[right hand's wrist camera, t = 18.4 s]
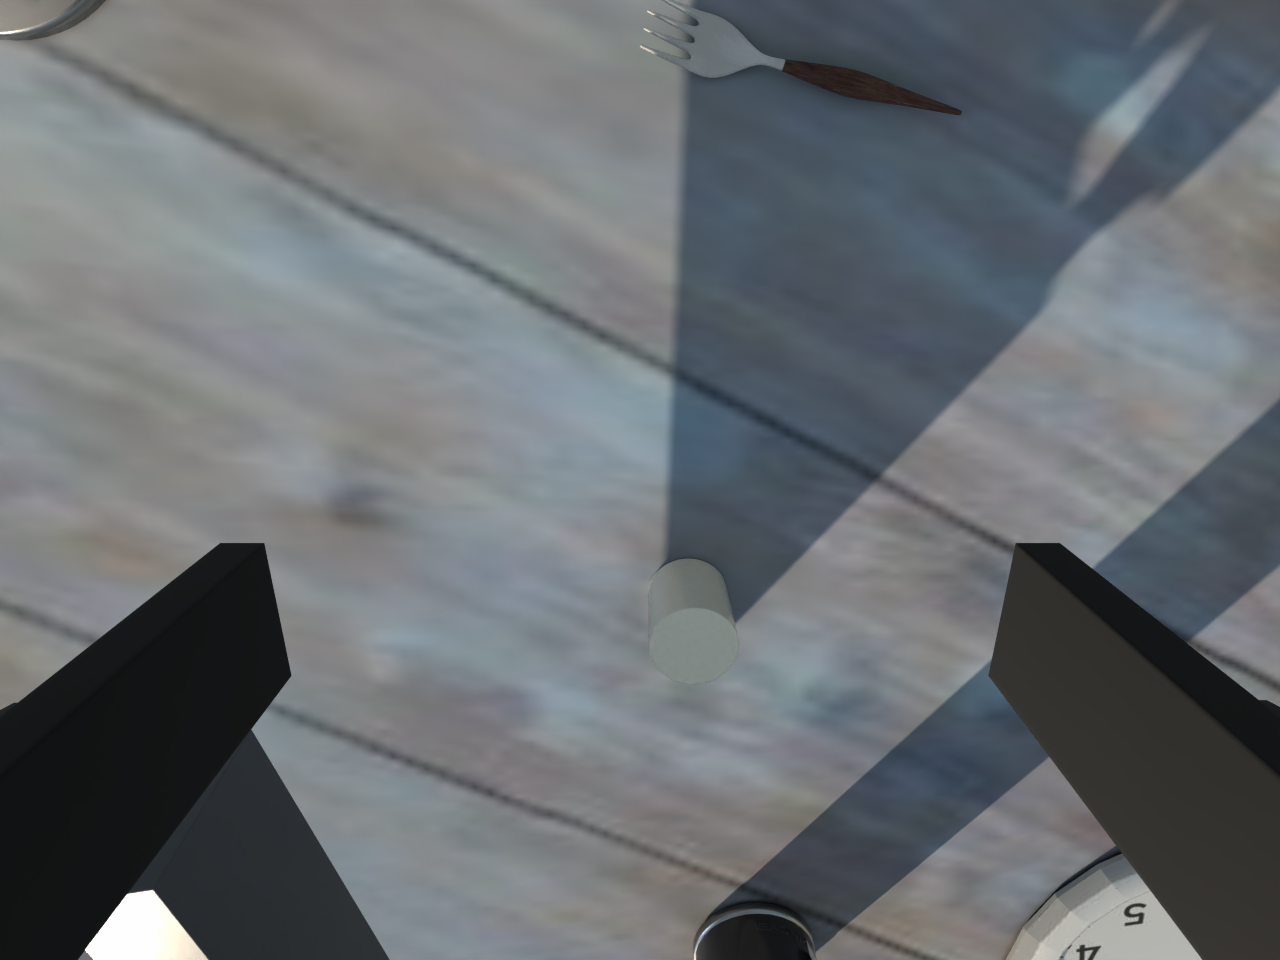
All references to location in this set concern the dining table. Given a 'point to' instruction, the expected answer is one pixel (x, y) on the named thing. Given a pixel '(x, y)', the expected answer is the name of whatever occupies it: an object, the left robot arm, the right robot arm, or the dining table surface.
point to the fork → (774, 62)
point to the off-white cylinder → (691, 622)
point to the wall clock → (1103, 921)
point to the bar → (239, 882)
